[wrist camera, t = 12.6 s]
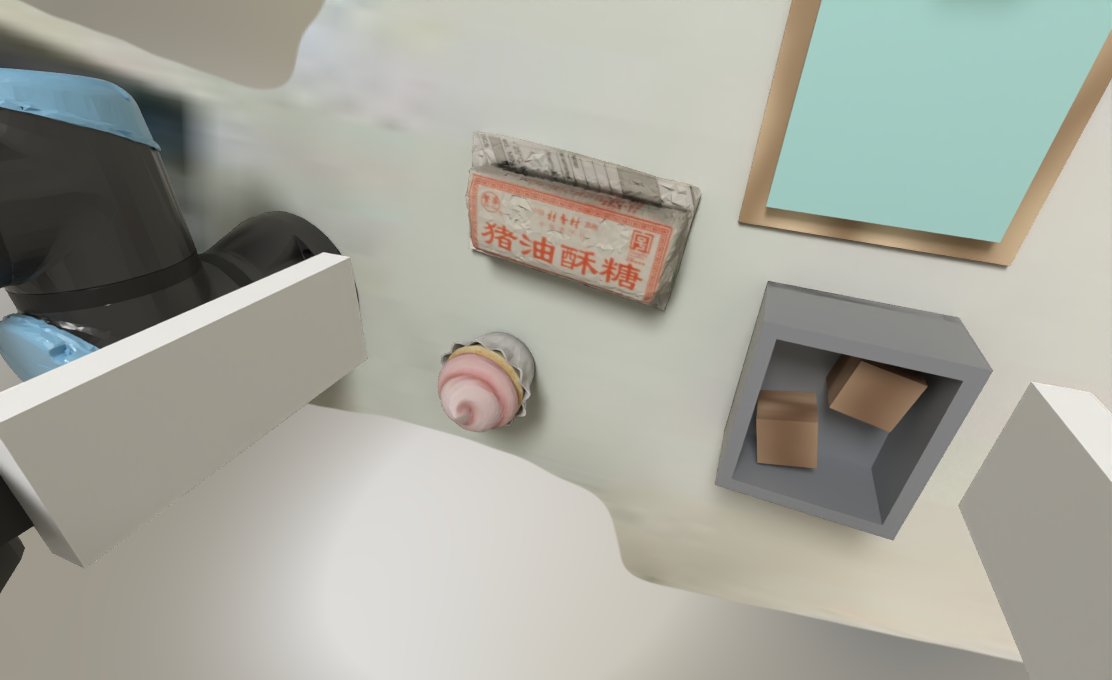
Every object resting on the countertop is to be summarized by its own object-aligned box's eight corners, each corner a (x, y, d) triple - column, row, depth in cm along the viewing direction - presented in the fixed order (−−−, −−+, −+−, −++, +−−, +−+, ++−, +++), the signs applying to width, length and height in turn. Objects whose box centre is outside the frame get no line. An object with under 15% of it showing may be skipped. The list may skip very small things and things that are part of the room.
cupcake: (553, 407, 51) (508, 474, 42) (471, 391, 54) (415, 450, 46) (548, 322, 46) (497, 379, 38) (459, 310, 49) (394, 360, 41)
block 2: (826, 377, 38) (829, 407, 35) (855, 333, 36) (861, 361, 32) (881, 399, 37) (890, 432, 34) (914, 355, 35) (927, 386, 32)
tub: (724, 429, 44) (714, 484, 39) (768, 280, 37) (763, 321, 32) (878, 473, 41) (893, 540, 35) (958, 317, 34) (992, 370, 28)
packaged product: (695, 199, 32) (655, 331, 38) (705, 183, 36) (668, 305, 42) (449, 135, 37) (444, 262, 42) (482, 127, 41) (473, 244, 46)
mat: (738, 220, 36) (738, 221, 36) (820, -114, 27) (820, -116, 27) (1007, 263, 31) (1009, 266, 31) (1215, -123, 22) (1221, -126, 22)
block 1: (760, 431, 42) (757, 462, 39) (759, 389, 40) (756, 418, 37) (814, 435, 40) (816, 468, 37) (815, 392, 39) (818, 422, 35)
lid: (766, 202, 35) (763, 221, 30) (879, -215, 24) (896, -269, 20) (993, 236, 31) (1023, 264, 27) (1237, -241, 21) (1346, -314, 17)
